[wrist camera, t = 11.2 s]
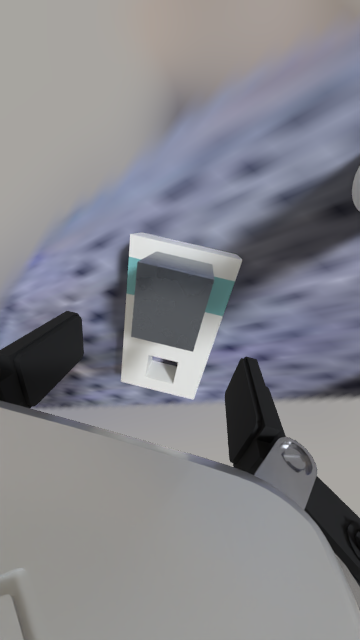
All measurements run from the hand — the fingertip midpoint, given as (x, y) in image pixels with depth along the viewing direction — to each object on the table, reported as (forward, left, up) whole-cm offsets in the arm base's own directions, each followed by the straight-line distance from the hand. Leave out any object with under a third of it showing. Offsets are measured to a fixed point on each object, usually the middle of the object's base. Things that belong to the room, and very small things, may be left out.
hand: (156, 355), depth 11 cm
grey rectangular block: (0, 0, -16) cm, 16 cm away
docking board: (+1, +6, -16) cm, 17 cm away
